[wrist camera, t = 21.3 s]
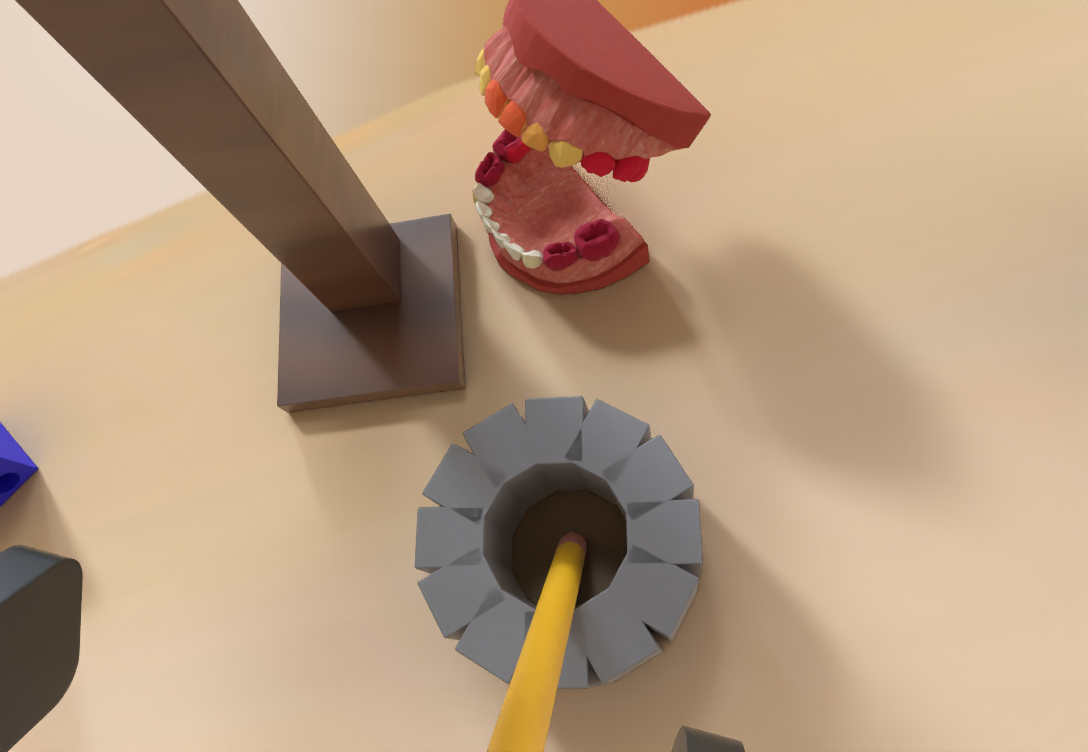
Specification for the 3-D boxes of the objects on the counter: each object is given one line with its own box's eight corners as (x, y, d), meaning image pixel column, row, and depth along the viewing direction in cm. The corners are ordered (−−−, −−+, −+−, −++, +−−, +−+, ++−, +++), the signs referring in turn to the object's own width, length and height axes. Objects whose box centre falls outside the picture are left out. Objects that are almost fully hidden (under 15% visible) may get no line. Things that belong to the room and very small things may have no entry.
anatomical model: (423, 216, 46) (438, -33, 34) (533, 169, 50) (584, -73, 37) (532, 349, 43) (594, 125, 30) (643, 289, 46) (740, 66, 34)
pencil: (562, 563, 40) (555, 535, 40) (590, 557, 39) (583, 529, 39) (487, 813, 20) (472, 758, 20) (543, 802, 20) (528, 747, 20)
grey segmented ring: (613, 389, 42) (602, 347, 36) (750, 597, 38) (761, 585, 32) (412, 511, 42) (370, 488, 36) (527, 736, 37) (498, 749, 32)
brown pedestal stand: (291, 236, 48) (-340, -447, 19) (455, 209, 47) (58, -569, 17) (286, 430, 44) (-535, -48, 15) (466, 406, 43) (-32, -171, 13)
